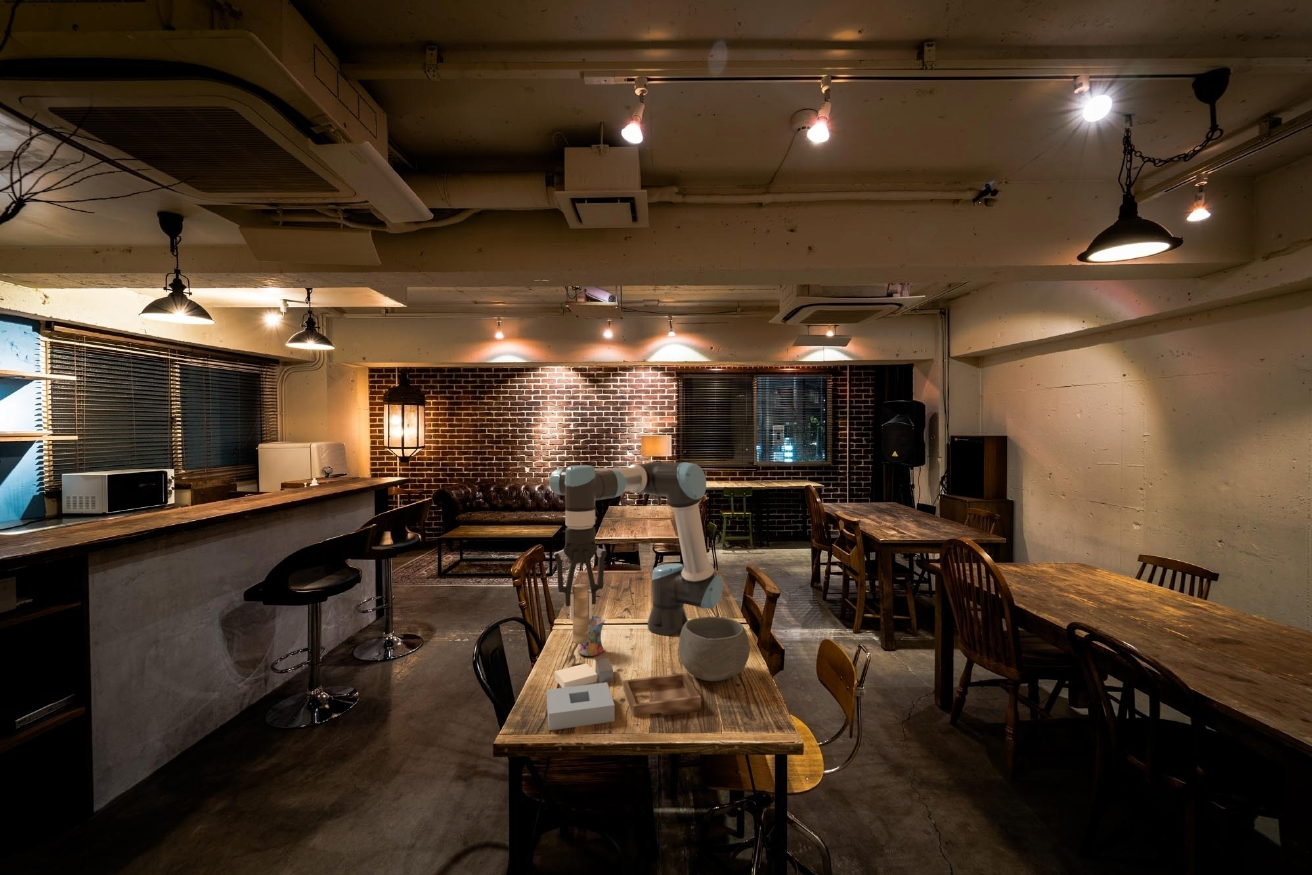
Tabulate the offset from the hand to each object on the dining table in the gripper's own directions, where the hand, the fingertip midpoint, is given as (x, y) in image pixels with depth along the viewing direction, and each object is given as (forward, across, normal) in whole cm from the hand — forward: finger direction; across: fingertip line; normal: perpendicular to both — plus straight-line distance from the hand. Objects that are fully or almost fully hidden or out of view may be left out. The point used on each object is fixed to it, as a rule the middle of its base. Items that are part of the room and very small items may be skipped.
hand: (580, 617), depth 133 cm
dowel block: (+26, 0, 0) cm, 26 cm away
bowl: (+26, -41, -12) cm, 50 cm away
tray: (+26, -22, -2) cm, 33 cm away
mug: (+26, -8, -39) cm, 47 cm away
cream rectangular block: (+26, 0, -18) cm, 31 cm away
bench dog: (+26, -8, -18) cm, 32 cm away
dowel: (+6, 0, 0) cm, 6 cm away
